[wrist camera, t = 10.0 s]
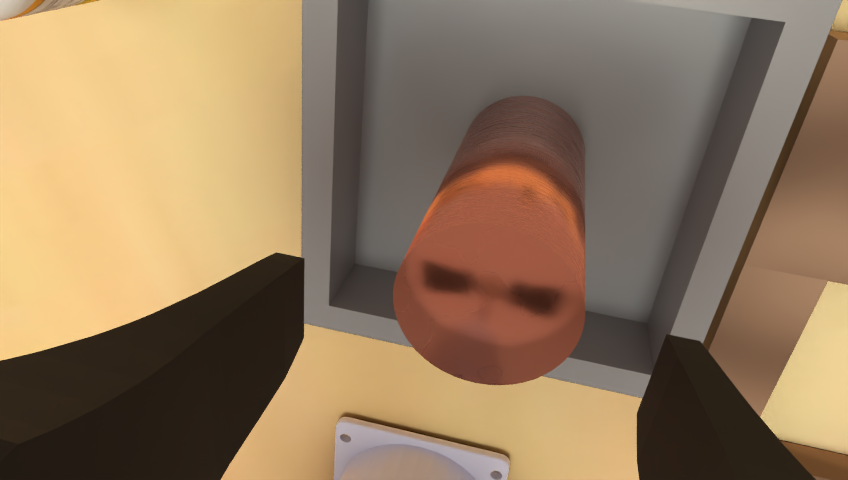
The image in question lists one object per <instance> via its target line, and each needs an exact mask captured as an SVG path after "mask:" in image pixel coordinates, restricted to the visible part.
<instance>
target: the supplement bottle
mask: <svg viewBox="0 0 848 480" xmlns="http://www.w3.org/2000/svg"><path fill="white" fill-rule="evenodd" d="M95 1H98V0H0V21H1V20H7V19H12V18H17V17H22V16H28V15H32V14H36V13H41V12H46V11H51V10H56V9H60V8H65V7H70V6H74V5H79V4H85V3H89V2H95Z"/></svg>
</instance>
